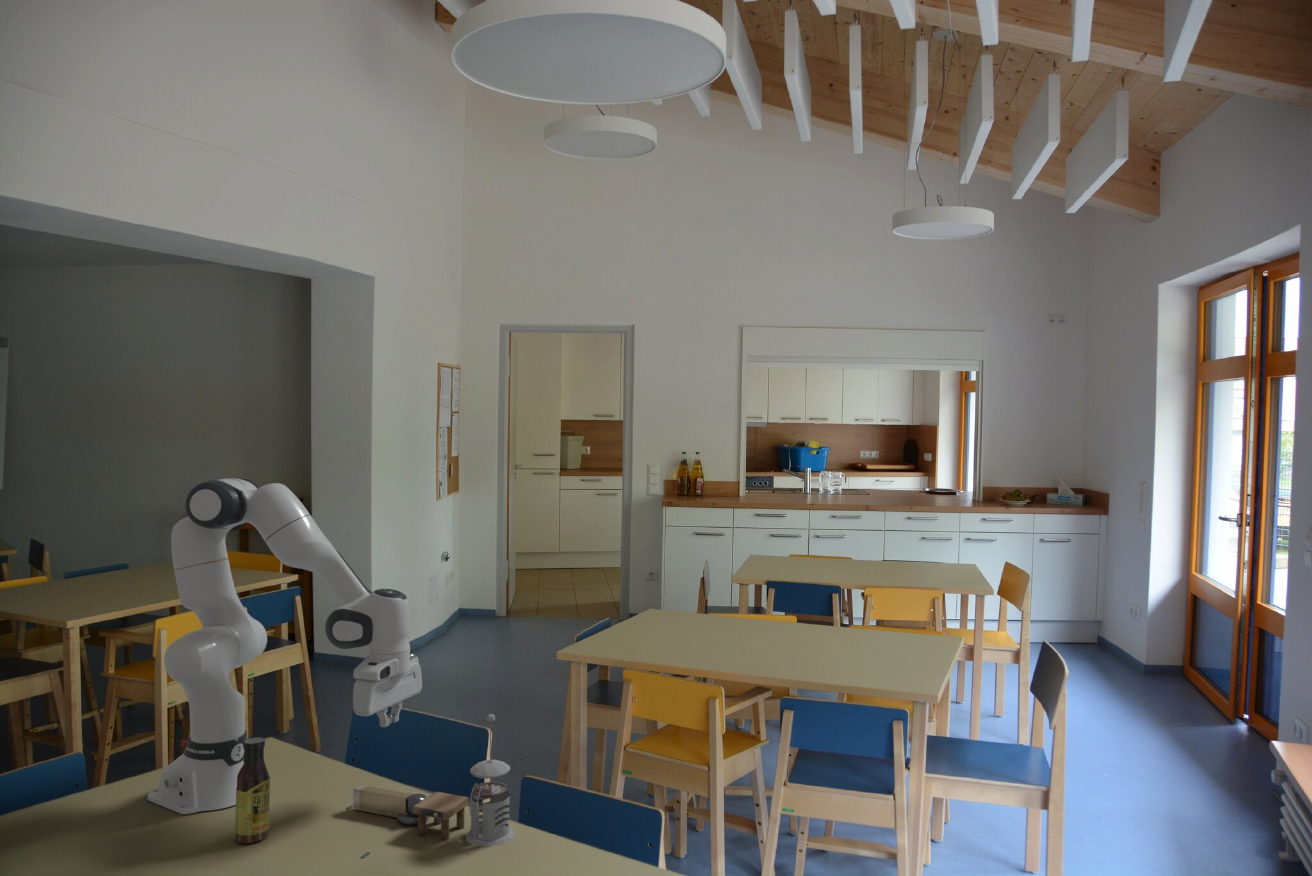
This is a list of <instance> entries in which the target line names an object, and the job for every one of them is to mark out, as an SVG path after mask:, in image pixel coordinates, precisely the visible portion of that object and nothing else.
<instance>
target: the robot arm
mask: <svg viewBox="0 0 1312 876" xmlns="http://www.w3.org/2000/svg"><path fill="white" fill-rule="evenodd" d="M185 511H186V515H187V516H186V517H183V518H182V519H180V520H179V521H177V522H176V523H175V524H174V525H173V527H172V529H171V540H170V541H171V557H172V565H173V570H174V575H175V582H176V585H177V591H178V597H179V601H180V603H181V605H182V606H183V607H184V608H186V609H187V610H190V611H192V612H193V613H194V614H195V616H197V618H198V620H199V622H200V624H201V626H202V628H199V629H195V630H192V631H190V632H188V633H185V634H184V635H182V636H180V637H179V638H178V639H176V640H174V641H172V643H170V644H169V645H168V647H167V648H166V650H165V652H164V655H163V664H164V669H165V672H166V673H167V675H168V676H169V678H171V679H172V680H173V681H175V682H176V683H178V684H179V685H180V686H181V688H183V690H184V693H185V695H186V698H187V701H188V705H189V706H188V707H189V730H190V732H189V733H190V735H189V737H187V738H184V739H182V740H180V742H182V743H181V744H180V746H184V745H185V748H184V751H183V753H182V754H181V755H180V756H178V757H177V758H176V759H175V760H173V762H171V763H170V764H168V765H167V766H166V767H165V768H164V769H163V770H162V772H161V774H160V778H159V786H158V787H156V788H155V789H153V790H152V791H150V792H149V793H148V795H147V801H149V802H152V803H154V804H155V805H158V806H160V807H163V808H165V809H168V810H171V811H173V812H176V813H178V814H180V815H190V814H195V813H199V812H206V811H207V812H209V811H215V810H221V809H225V808H226V809H227V808H229V807H233V806H236V788H237V776H238V773H239V771H240V769H241V768H242V766H243V764H244V762H243V760H244V748H243V741H244V740H246V739H249V738H248V732H247V730H246V699H245V696H244V695H243V694H242V693H241V692H239V691H238V690H235V688H233V685H232V681H231V679H230V676H231V675H230V674H231V671H232V670H235V669H238V668H241V667H243V666H245V665H247V664H249V663H251V662H252V661H254V660H255V659H256V658H258V657H259V656H261V654H263V653H264V651H265V650H266V647H267V643H268V634H267V631H266V629H265V627H264V625H263V624H262V623H261V622H260V621H258V620H257V619H255V618H254V617H252V616H251V615H250V614H249V613H248V611H247V610H246V608H245V607H244V606H243V604H242V602H241V600H240V598H239V596H238V594H237V592H236V588H235V583H234V578H233V575H232V571H231V570H232V569H231V566H230V560H229V556H228V550H227V545H226V540H227V535H228V533H229V532H234V531H237V530H238V529H240V528H242V527H244V526H245V525H248V524H250V525H251V526H253V527H254V528H255V529H256V531H258V533H259V534H260V536H261V538H262V540H263V542H265V544H266V546H267V547H268V549H269V551H271V553H272V554H273V555H274V556H275V558H276V559H277V560H278V561H279V562H281V563H282V564H283V565H285V566H287V567H291V568H295V569H301V570H305V571H309V572H312V573H314V574H316V575H318V576H319V577H321V579H323V580H324V582H325V583H326V584H327V586H329V588H330V589H331V590H332V591H333V593H334V594H335V596H336V597H337V598H338V599H339V601H340V602H341V603H342V606H339V607H338V608H336V609H334V610H333V611H332V612H331V613H330V614H329V615H328V617H327V619H326V621H325V626H324V630H325V631H324V632H325V634H326V635H325V636H326V638H327V640H328V641H329V643H331V644H332V646H334V647H336V648H337V649H342V650H350V649H355V648H356V649H357V648H361V647H367V648H368V655H367V656H366V657H365V658H364V660H362V662H361V663H360V664H358V665H357V666H356V667H355V668H354V669H353V671H352V672H353V678H354V679H356V680H355V682H354V684H353V689H352V691H353V692H352V708H353V712H354V713H355V715H356V716H362V717H370V716H372V715H374V714H376V716H377V717H378V719H379V726H380V727H381V728H387V727H389V726H391V723H393V724H395V723H397V722H399V720H400V713H401V710H402V706H403V702H404V700H407V699H409V698H411V697H413V696H416V695H418V694H420V693H421V691H422V688H423V677H422V667H421V665H420V663H419V662H420V661H419V657H418V655H416V654H415V653H411V644H410V642H409V635H410V632H411V612H410V611H411V610H410V604H409V599H408V597H407V595H406V594H405V593H403V592H401V591H400V590H397V589H392V588H378V589H375V590H373V591H371V590H370V589H369V588H368V587H367V586H366V585H365V584H364V582H363V581H362V580H361V578H360V577H359V576H358V575H357V574H356V572H355V571H354V569H353V568H352V567H351V566H350V565H349V562H347V561H346V559H345V558H344V557H343V556H342V554H341V553H340V552H339V551H338V550H337V549H336V547H335V546H334V545H333V544H332V543H331V542H330V540H329V539H328V538H327V536H326V535H325V534H324V532H323V531H322V529H320V527H319V526H318V524H317V522H316V521H315V519H314V518H313V516H312V515H311V514H310V512H309V511H308V509H307V508H306V507H305V506H304V504H303V503H302V502H301V500H300V499H299V498H298V496H297V495H295V493H294V492H293V491H292V490H291V489H290V488H289V487H288V486H287V485H285V484H283V483H279V482H274V483H272V482H271V483H267V484H265V485H263V486H260V485H258V484H257V483H256V482H254V481H252V480H251V479H245V478H237V477H236V478H234V477H223V478H220V479H210V480H207V481H206V480H205V481H204V482H201V483H199V484H197V485H195V486H194V487H193V488H192V489H191V490H190V491H189V493H188V494H187V496H186V499H185ZM390 707H391V710H390V713H388V715H387V712H388V711H389V708H390Z"/></svg>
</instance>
